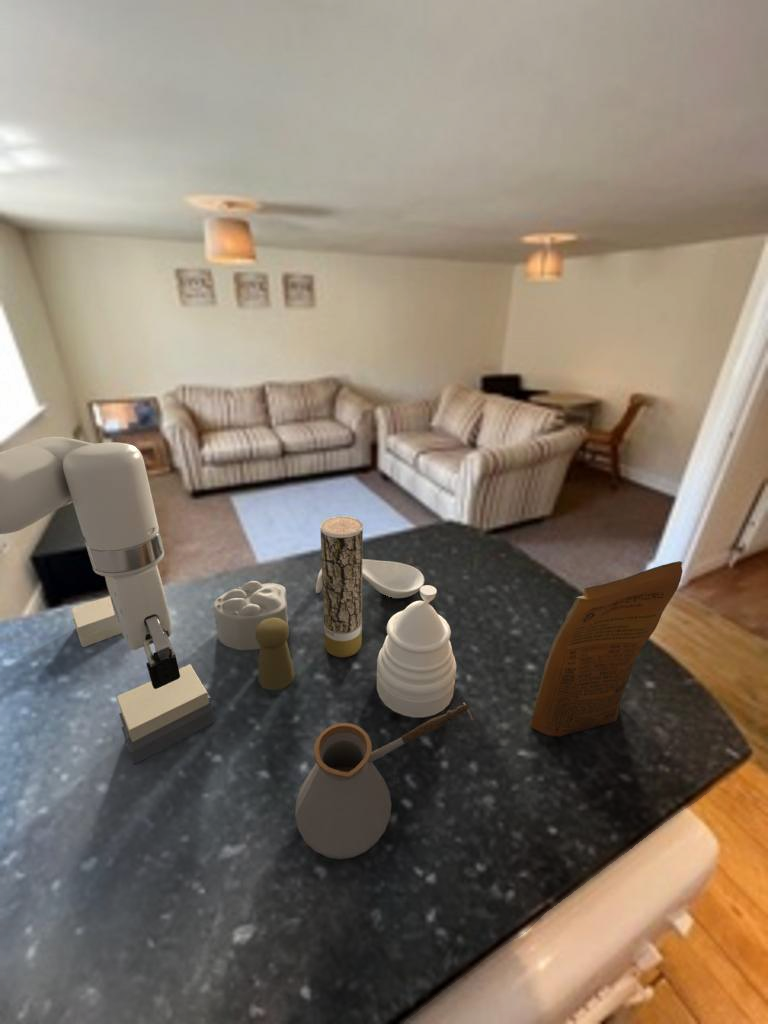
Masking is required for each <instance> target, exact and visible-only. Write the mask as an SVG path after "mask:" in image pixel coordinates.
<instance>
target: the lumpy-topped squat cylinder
mask: <svg viewBox="0 0 768 1024" xmlns="http://www.w3.org/2000/svg"><path fill="white" fill-rule="evenodd" d="M287 601H288V600H287V589H286V587H284V585H281V584H279V583H272V582H271V583H260V582H259V581H256V580H251V581H247V582H246V583H244V584H243V585H242V586H238V587H236V588H234V589H231V590H229V591H226V592H225V593H223V594H222V595H220V596H219V597H218V598H216V599H215V601H214V602H213V607H212V608H213V614H214V620H215V627H216V632H217V633H216V634H217V639H218V641H219V642H220V643H221V644H222V645H224V646H225V647H228V648H231V649H234V650H239V651H254V650H260V645H259V643H258V642H257V640H256V633H255V632H256V629H257V626H258V625H259V624H260V623H261V622H262V621H263V620H265V619H268V618H280V619H282V620H284V621H285V622H286V624H287V625H288V626H289V615H288V602H287ZM289 635H290V634H289ZM289 635H288V638H289Z"/></svg>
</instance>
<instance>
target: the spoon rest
mask: <svg viewBox="0 0 768 1024" xmlns="http://www.w3.org/2000/svg"><path fill="white" fill-rule="evenodd" d="M362 578H363V579H365V580H366V581H367V582H368V583H369V585H371V586H372V587H373V588H374V589H375V590H376V591H377V592H378V593H380V594H382V595H383V596H385V595H386V597H387V596H388V598H390V597H392V598H391V599H405V598H408V597H411V596H413V595H415V594H417V593H418V592H420V588H421V587H422V586H424V585H425V576H424V575H423V573H422V572H421V571H420V570H419V569H417V568H416V567H414V566H412V565H409V564H406V563H403V562H398V561H390V560H389V561H388V560H387V561H386V560H376V559H365V558H362ZM322 590H323V587H322V567H321V569H320V570H319V572H318V575H317V579H316V583H315V593H316V594H318V593H321V591H322Z"/></svg>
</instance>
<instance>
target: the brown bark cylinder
mask: <svg viewBox="0 0 768 1024" xmlns="http://www.w3.org/2000/svg"><path fill="white" fill-rule="evenodd" d="M319 529H320V555H321V568H322V610H323V611H322V612H323V613H322V614H323V632H324V633H323V635H324V636H323V637H324V648H325V650H326V651H327V653H328V654H330V655H331V656H332V657H335V658H348V657H349V658H350V657H351V656H354V655H356V654H357V653H358V652H359V650H361V647H362V642H363V641H362V633H363V632H362V631H363V577H362V559H363V548H364V547H363V545H364V544H363V541H364V540H363V537H364V535H363V534H364V533H363V532H364V531H363V530H364V527H363V522H362V521H361V520H360V519H358V518H355V517H354V516H353V517H352V516H346V515H338V516H332V517H329V518H326V519H324V520H323V521H322V522H321V523H320V527H319Z"/></svg>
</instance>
